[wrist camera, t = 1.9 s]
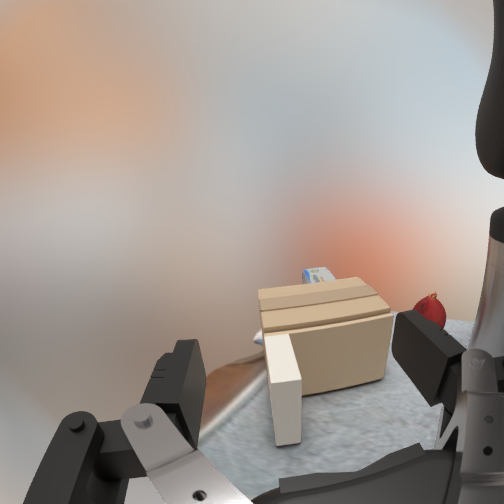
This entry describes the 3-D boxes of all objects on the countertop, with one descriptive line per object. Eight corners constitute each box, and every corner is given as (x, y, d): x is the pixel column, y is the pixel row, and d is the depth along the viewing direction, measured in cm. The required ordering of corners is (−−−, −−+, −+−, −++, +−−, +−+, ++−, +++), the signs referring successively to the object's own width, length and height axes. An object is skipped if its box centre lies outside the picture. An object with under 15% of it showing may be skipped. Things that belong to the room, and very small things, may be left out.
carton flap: (381, 375, 30) (391, 312, 27) (406, 415, 22) (427, 349, 20) (269, 396, 30) (263, 333, 27) (276, 446, 22) (270, 383, 20)
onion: (417, 355, 32) (427, 304, 30) (399, 335, 38) (406, 288, 36) (447, 344, 32) (458, 296, 30) (428, 327, 38) (435, 282, 36)
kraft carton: (354, 337, 40) (358, 275, 37) (379, 376, 30) (390, 305, 28) (263, 351, 40) (257, 288, 37) (269, 397, 30) (262, 326, 27)
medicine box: (339, 333, 42) (341, 282, 40) (312, 337, 42) (311, 286, 40) (327, 311, 49) (326, 265, 47) (303, 314, 49) (301, 268, 47)
